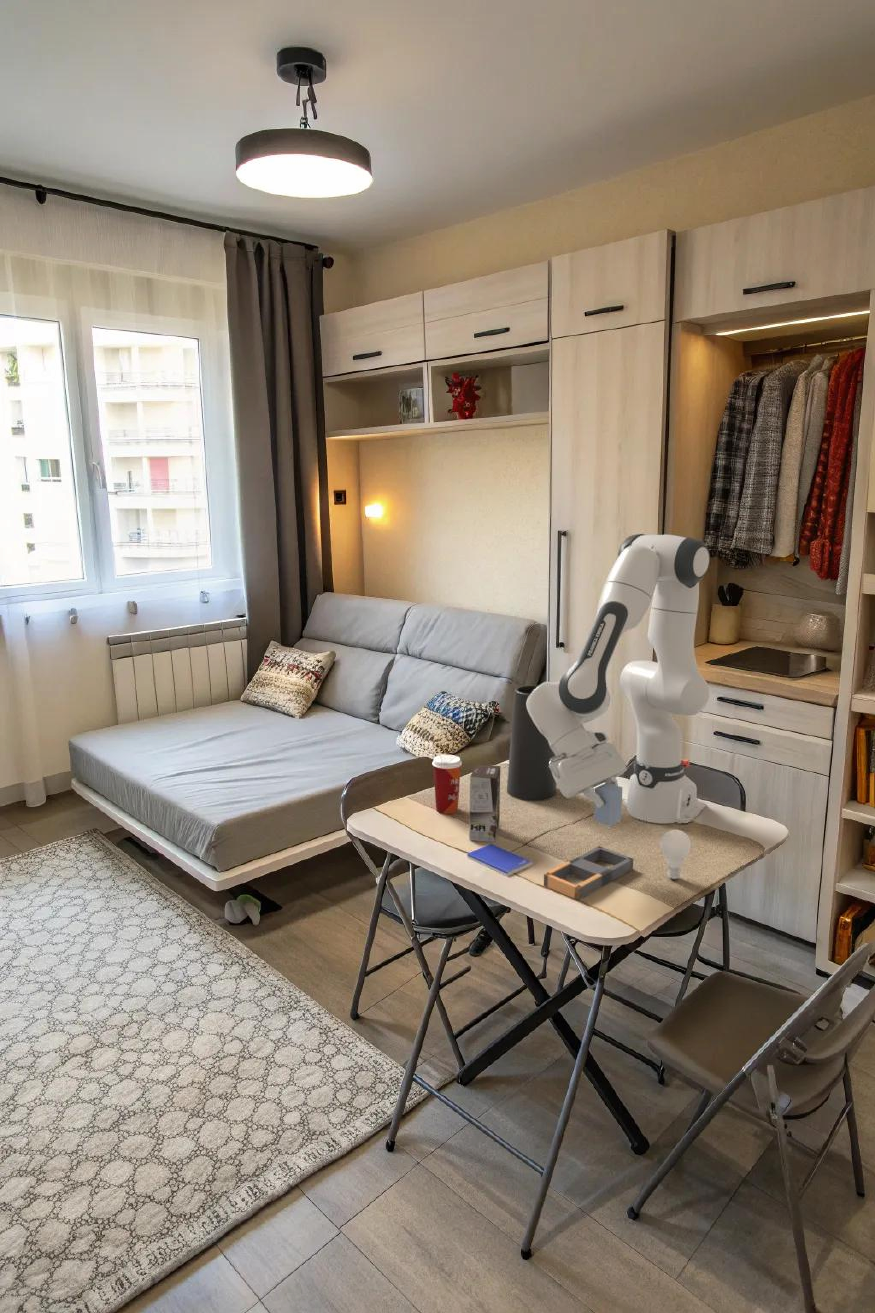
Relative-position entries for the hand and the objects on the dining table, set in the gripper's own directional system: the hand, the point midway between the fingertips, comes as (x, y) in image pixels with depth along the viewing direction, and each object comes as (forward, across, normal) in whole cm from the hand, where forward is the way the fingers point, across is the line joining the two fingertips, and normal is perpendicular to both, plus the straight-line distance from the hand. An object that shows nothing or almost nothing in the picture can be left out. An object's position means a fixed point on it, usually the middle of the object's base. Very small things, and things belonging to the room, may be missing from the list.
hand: (610, 802), depth 180 cm
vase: (-18, +24, +41) cm, 51 cm away
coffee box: (-11, -6, +34) cm, 36 cm away
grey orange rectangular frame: (+10, -6, +12) cm, 17 cm away
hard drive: (-2, -14, +25) cm, 29 cm away
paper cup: (-23, -2, +46) cm, 51 cm away
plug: (+3, 0, +4) cm, 4 cm away
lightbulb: (+20, +6, +3) cm, 21 cm away
